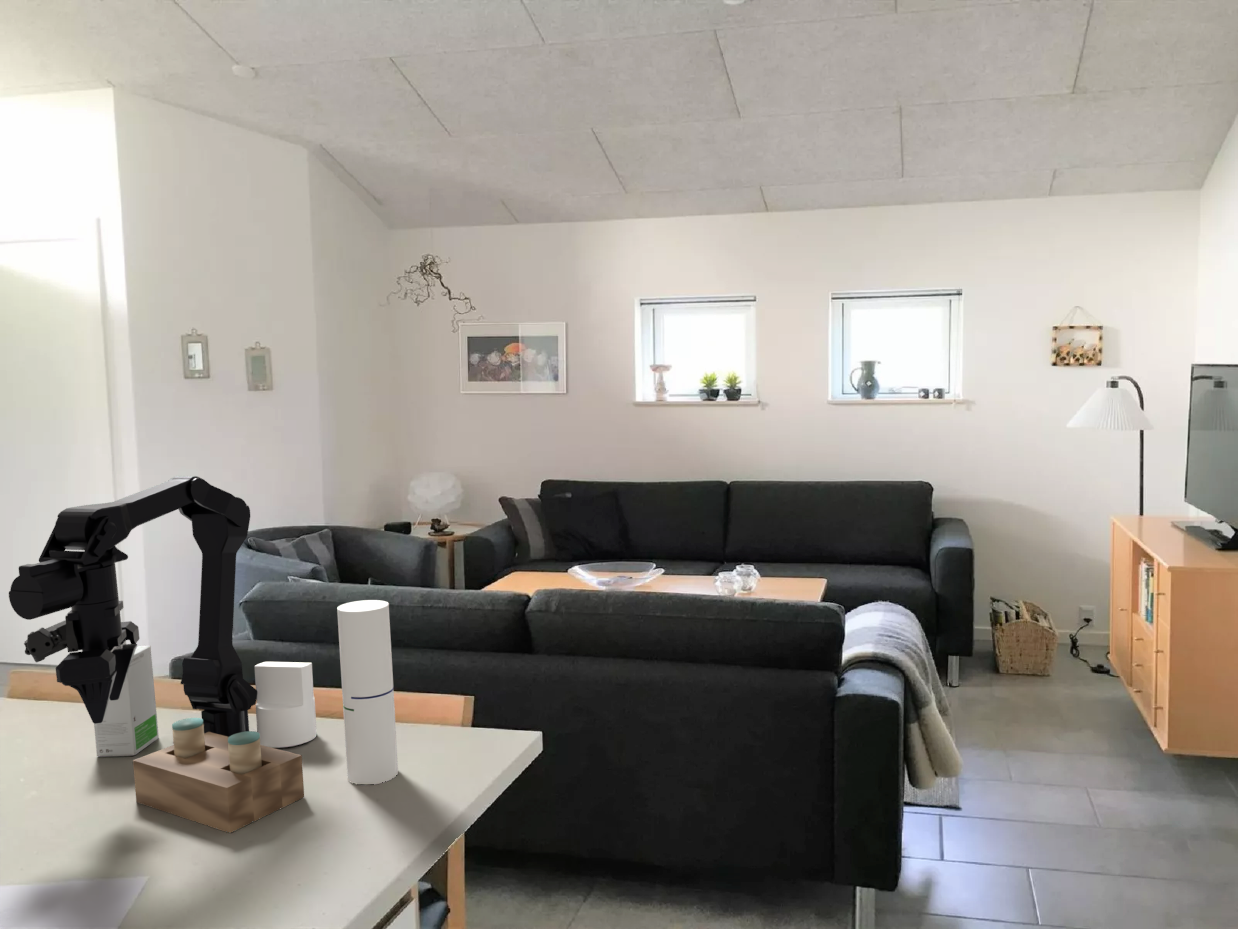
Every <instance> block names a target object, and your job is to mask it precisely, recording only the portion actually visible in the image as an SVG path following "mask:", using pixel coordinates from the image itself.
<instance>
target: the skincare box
mask: <svg viewBox="0 0 1238 929" xmlns="http://www.w3.org/2000/svg"><path fill="white" fill-rule="evenodd" d="M155 692H156V691H155V680H154V669H153V659H152V646H151V645H139V646H138V645H137V648H136V650H135V653H134V656H133V658H132V661H131V664H130V667H129V670H128V673H127V676H126V679H125V682H124V685H123V688H122V691H121V694H120V697H119V699H118V700H112V701H111V700H110V698H109V701H108V705H107V709H106V712H105V716H104V719H103V722H102V723H96V724H94V723H93V728H94V729H93V730H94V736H95V750H96V757H100V758H101V757H129V756H136V755H138V754H139V752H141V751H143V750H144V749H145V748H147V747H149V745H151V744H152V743H155V741H157V740H158V739H159V737H160V736H159V735H160V734H159V727H158V714H157V705H156V704H157V702H156V693H155Z"/></svg>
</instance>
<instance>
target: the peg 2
mask: <svg viewBox="0 0 1238 929" xmlns="http://www.w3.org/2000/svg"><path fill="white" fill-rule="evenodd" d="M228 749H229V763H230V771H231V772H234V773H238V774H241V775H243V774H246V773H248V772H250V771H253V770H255V769H257V768H260V767H262V761H261V747H260V734H259V733H258V732H257V731H251V730H249V731H246V732H240V733H236V734H233V735H231V736H230V737H229V738H228Z"/></svg>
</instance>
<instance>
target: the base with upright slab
mask: <svg viewBox="0 0 1238 929" xmlns="http://www.w3.org/2000/svg"><path fill="white" fill-rule="evenodd" d="M254 679H255V680H254V681H255V689H256V690H257V699H256V704H255V716H256V717H255V718H256V732H258V733H259V734H260V745H263V746H267V747H271V748H275V749H279V748H288V747H295V746H298V745H302V744H305V743H308V742H310V741H312V740H314V739H315V738H316V736H317V717H316V716H317V715H316V700H315V699H316V698H315V695H314V678H313V663H312V662H301V661H299V662H296V661H294V662H293V661H263V662H260V663H257V664H256V665H254Z"/></svg>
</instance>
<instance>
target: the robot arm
mask: <svg viewBox="0 0 1238 929" xmlns="http://www.w3.org/2000/svg"><path fill="white" fill-rule="evenodd" d="M176 510H178V511H179V514H180V515H182V516H183V517H185V518H186V519H187V520H189V521H191V528H192V530H191V531H192V537H193V538H194V541H195V542H196V544H197V546H198V548H199V550H200V552H201V575H200V576H201V578H200V600H199V622H198V637H197V638H198V642H197V647H196V648H195V649H194V651H193V653H192V655H191V656H190V657H184V658H183V660H182V663H181V664H182V665H181V666H182V676H181V680H180V683H179V684H180V685H182V687H183V693H184V696H186V697H187V698H188V701H189V703H190V705H191V707H192V709H193V710H201V711H200V713H201V714H200V715H201V719H203V726H204V733H207V732H212V733H215V734H219V735H223V736H227V737H230V736H231V735H233V734H236V733H240V732H246V731H250V721H249V710H251V709H252V707H253V706H256V704H257V700H256V699H257V690H256V687H254V686H252V685H251V684H250V683H249V682H248V681H247V680H245V679H244V673H243V662H242V660H241V658H240V656H239V655H238V653H237V651H236V649H235V647H234V645H233V639H234V637H233V635H234V612H235V593H236V592H235V591H236V590H235V589H236V586H235V585H236V569H237V568H236V566H237V553H238V551H239V550H240V548H241V547H242V545H243V544H244V543H245V541H246V539H247V538H248V533H249V528H250V521H251V509H250V506H249V505H248V504H247V503H246V502H245V500H244V499H242V498H241V497H238V496H235V495H234V494H232V493H229V492H228V491H226V490H223V489H221V488H219V487H217V486H214V485H212V484H210V483H209V482H208V481H206V480H205V479H204V478H201V477H200V476H196V475H194V476H191V475H190V476H188V475H187V476H185V475H183V476H182V475H178V476H177V475H176V476H173V477H171V478H170V479H168V480H167V481H164V482H161V483H159V484H156V485H154V486H151V487H148V488H145V489H142V490H140V491H137V492H135V493H133V494H130V495H128V496H125V497H122V498H120V499H117V500H115V501H111V502H105V503H95V504H94V503H93V504H86V505H85V504H83V505H79V506H72V507H66V508H65V509H63V510H62V511H60V512H59V513H58V514H57V518H56V521H55V523H54V524H55V525H54V527H53V529H52V531H51V533H50V535H49V538H48V539H47V541H46V543H45V546H44V547H43V550H42V552H41V554H40V555H39V558H38V563H27V564H22V565H19V566H18V576H17V577H15V578H14V579H13V581H12V583H11V586H10V589H9V591H8V599H9V602H10V603H9V604H10V605H11V607H12V610H14V612H15V613H16V614H17V616H19V617H20V618H22V619H24V620H33V619H37V618H42V617H43V616H48V615H51V614H54V613H57V612H61V611H65V610H67V609H70V608H71V610H70V611H68V613H67V614H66V615H65V617H64V618H65V619H64V620H63V621H61V622H57V623H55V624H53V625H51V626H48V627H46V628H45V627H39V629H37V630H36V631H31V632H30V633H28V634H27V637H26V638H27V639H26V640H25V641H24V643H23V645H24V646H25V650H24V654H25V655H27V656H30V655H31V656H32V658H33V660H34V662H35V663H39V662H42V661H44V660H45V659H46V658H47V657H49V656H51V655H54V654H56V653H59V652H61V651H63V650H65V649H67V653H69V654H67V655H66V656H65V657H64V658H63V659H62V660H61V661H60V663H59V664H58V665H57V666H56V667H55V674H56V675H55V676H56V682H57V683H59V684H60V683H61V684H62V685H63V686H65V687H70V688H72V689H74V690H76V691H77V692H78V694H79V696H80V698H81V700H82V702H83V704H84V707H85V708H86V710H87V713H88V714H89V715H88V716H89V718H90V719H91V722H92V723H93V725H94V724H96V723H102V722H103V719H104V716H105V712H106V709H107V705H108V701H109V698H110V700H111V701H112V700H118V699H119V697H120V694H121V691H122V688H123V685H124V682H125V679H126V676H127V673H128V670H129V667H130V664H131V661H132V658H133V656H134V653H135V650H136V648H137V646H138V642H139V641H140V629H139V626H138V625H137V624H135V623H134V622H132V621H131V620H130V621H122V618H121V611H122V610H123V609H124V600H120V597H119V590H118V579H117V571H116V568H117V567H116V563H119V562H122V561H126V560H128V558H129V555H128V554H127V553H125V552H124V551H122V550H120V549H119V548H117V545H118V544H120V543H121V542H123V541H124V540H126V539H127V538H128V536H129V535H130V534H131V532H132V531H133V530H134V529H135V528H137V527H138V526H141V525H143V524H146V523H149V522H150V521H154V520H155V519H158V518H161V517H162V516H165V515H167V514H170V513H173V512H174V511H176ZM127 641H129V642H130V643H127Z"/></svg>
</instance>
